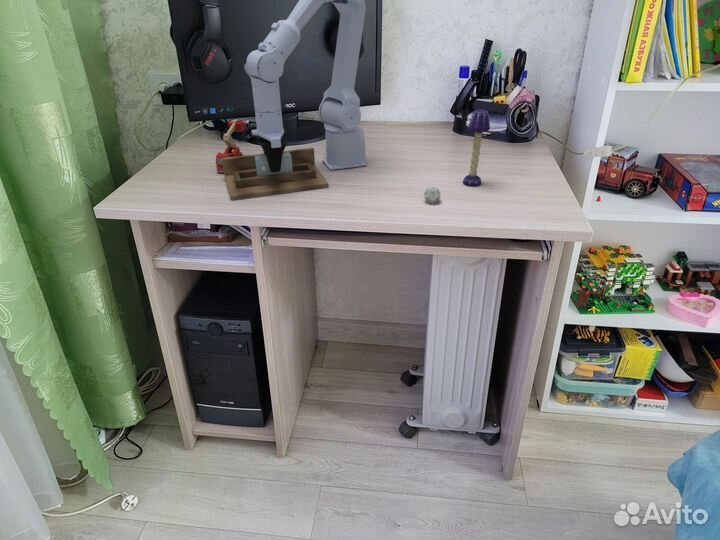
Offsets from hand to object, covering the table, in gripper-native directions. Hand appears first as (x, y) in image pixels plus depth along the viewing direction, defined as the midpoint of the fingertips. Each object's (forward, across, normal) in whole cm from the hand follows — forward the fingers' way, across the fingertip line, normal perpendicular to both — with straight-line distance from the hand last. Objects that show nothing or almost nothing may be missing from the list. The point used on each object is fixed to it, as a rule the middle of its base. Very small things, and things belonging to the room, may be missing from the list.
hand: (274, 168), depth 126 cm
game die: (+4, +22, +30) cm, 37 cm away
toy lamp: (+4, +16, +43) cm, 46 cm away
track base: (+3, 0, 0) cm, 3 cm away
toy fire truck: (+4, -16, -8) cm, 18 cm away
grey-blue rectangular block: (+2, 0, 0) cm, 2 cm away
